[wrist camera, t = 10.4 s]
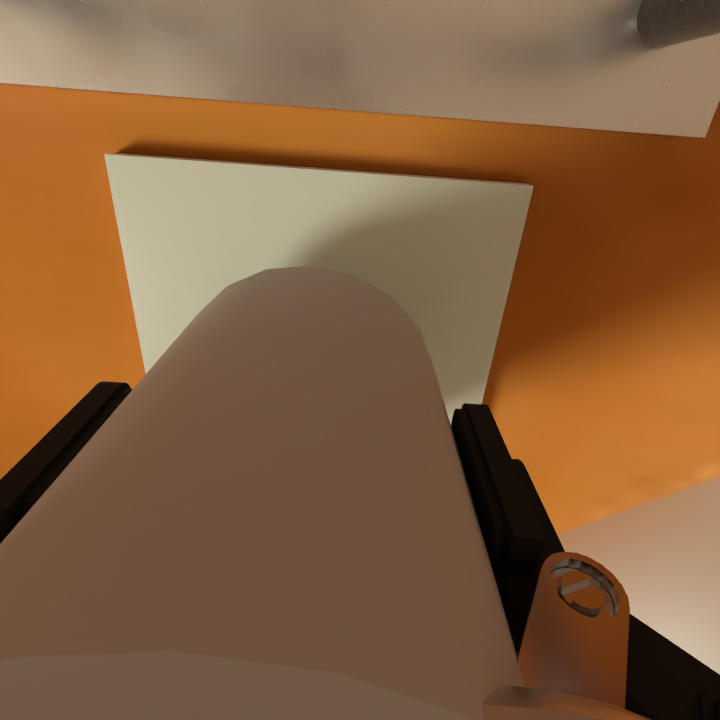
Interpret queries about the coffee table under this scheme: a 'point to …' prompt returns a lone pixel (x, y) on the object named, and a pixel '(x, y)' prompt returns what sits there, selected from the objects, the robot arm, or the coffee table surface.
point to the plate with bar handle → (388, 56)
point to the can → (262, 532)
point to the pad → (323, 246)
